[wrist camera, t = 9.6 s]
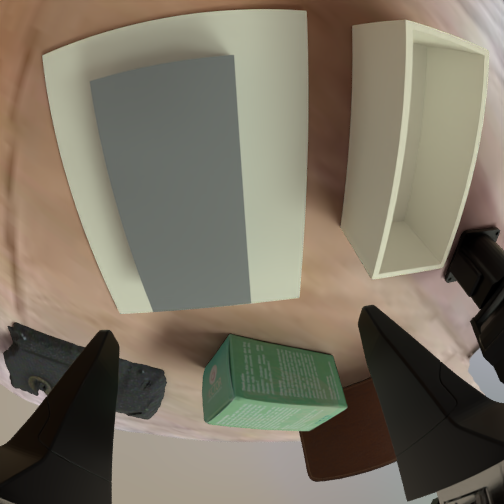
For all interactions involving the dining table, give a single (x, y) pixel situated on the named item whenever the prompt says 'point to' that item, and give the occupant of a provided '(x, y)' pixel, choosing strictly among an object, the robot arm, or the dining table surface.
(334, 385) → the box
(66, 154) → the pale cream mat
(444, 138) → the base
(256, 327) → the dining table surface
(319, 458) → the letter holder
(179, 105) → the grey rectangular block
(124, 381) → the dark slate chunk
